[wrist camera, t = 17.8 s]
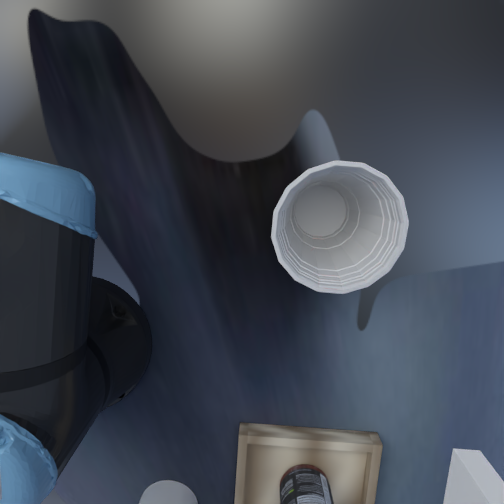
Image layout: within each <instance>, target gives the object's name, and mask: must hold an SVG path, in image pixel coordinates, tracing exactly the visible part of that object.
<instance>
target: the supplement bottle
mask: <svg viewBox="0 0 504 504" xmlns="http://www.w3.org/2000/svg"><path fill="white" fill-rule="evenodd" d="M280 504H334V502H333V497H332V493H331V488H330V484H329V481H328V478H327V476H326V475H325V473H324V472H323V471H322V470H320V469H319V468H317V467H315V466H313V465H308V464H301V465H296V466H294V467H292V468H290V469H288V470H287V471H286V472H285V473H284V475H283V476H282V478H281V481H280Z"/></svg>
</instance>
